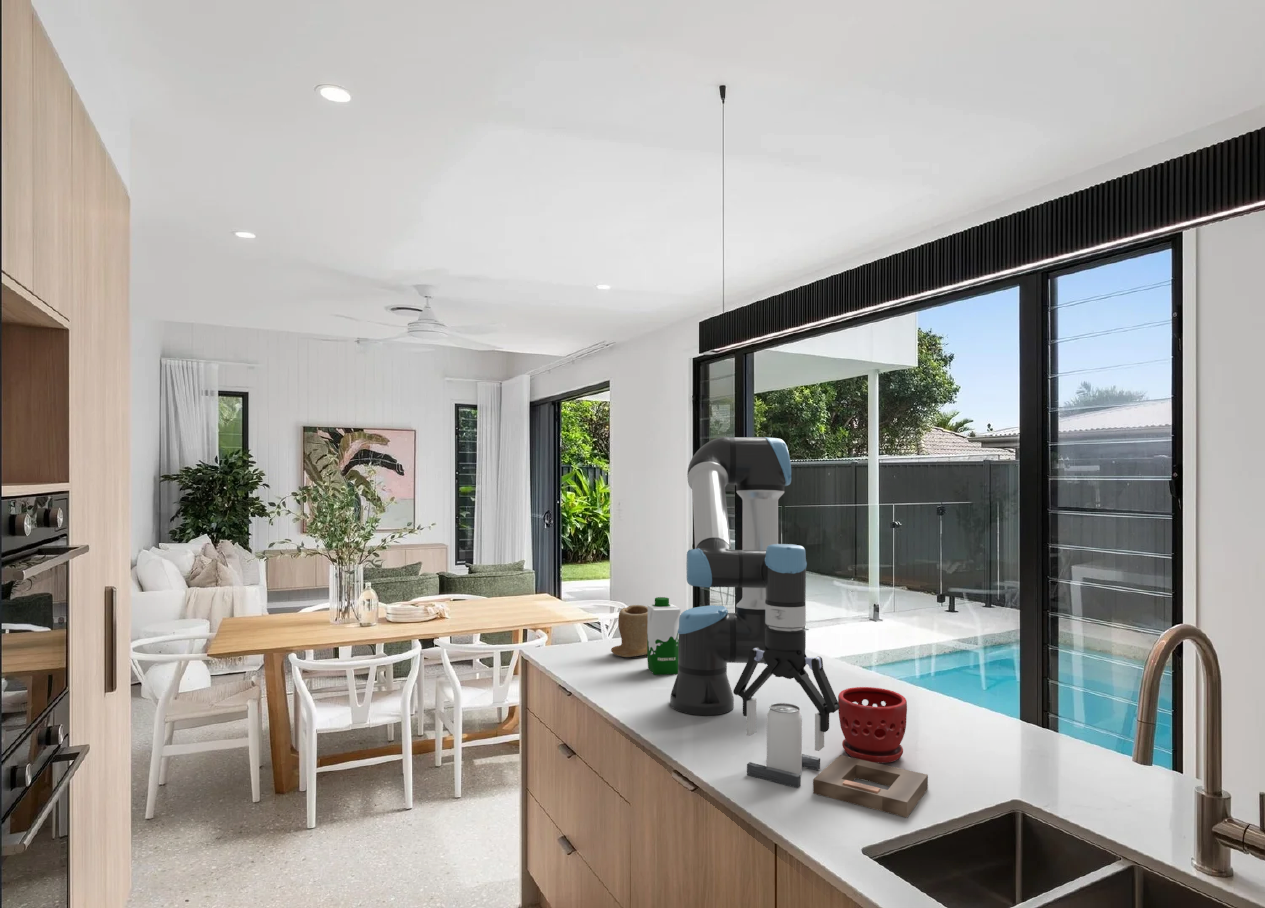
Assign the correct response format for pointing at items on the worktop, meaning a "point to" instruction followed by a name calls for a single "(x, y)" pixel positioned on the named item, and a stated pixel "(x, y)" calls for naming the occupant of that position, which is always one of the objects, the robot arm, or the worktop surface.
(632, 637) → the brown boot
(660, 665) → the milk carton
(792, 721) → the can
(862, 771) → the plate
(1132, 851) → the worktop surface
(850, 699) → the plant pot
